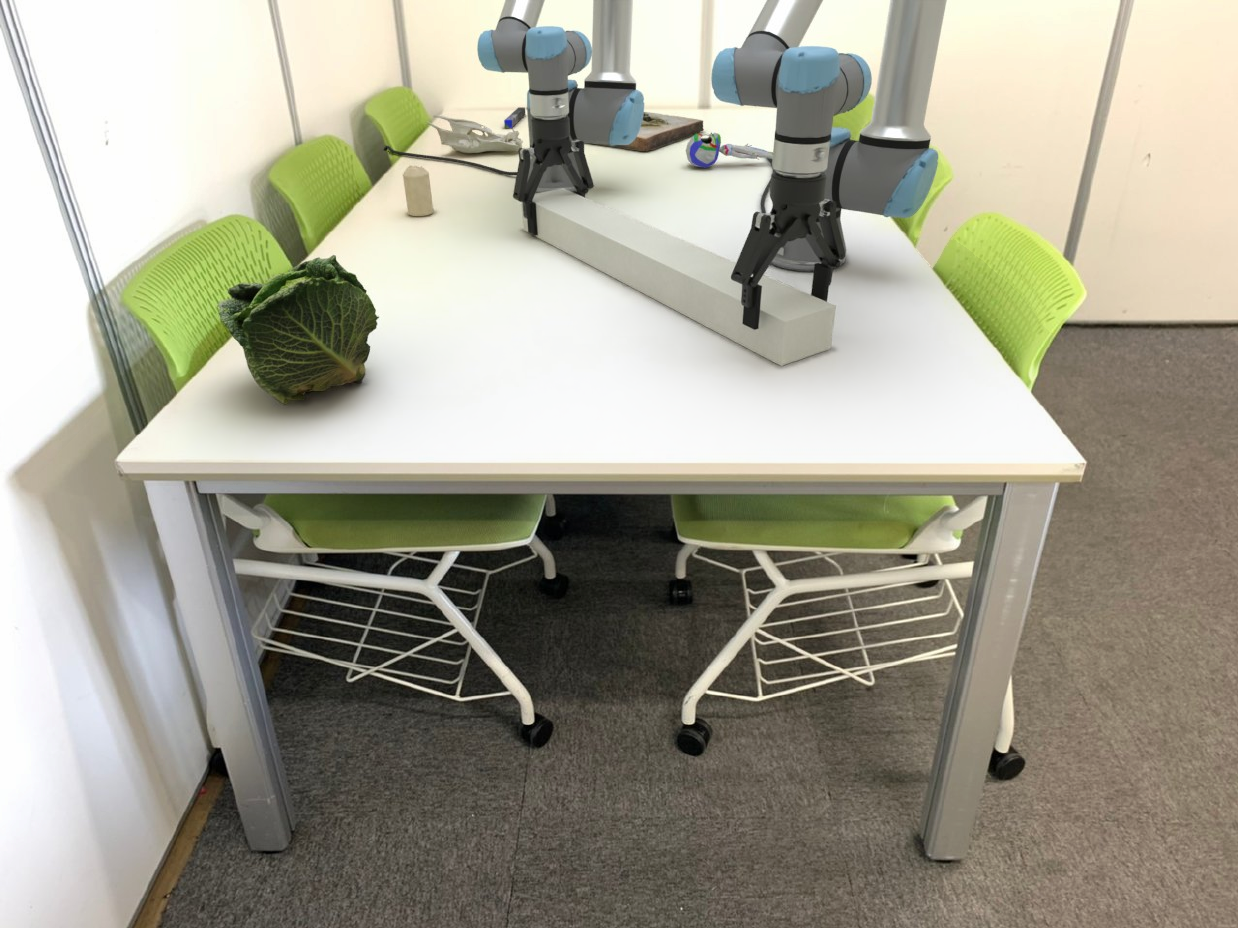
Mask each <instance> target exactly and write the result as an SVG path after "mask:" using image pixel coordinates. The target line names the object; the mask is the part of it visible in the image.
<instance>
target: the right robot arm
mask: <svg viewBox="0 0 1238 928" xmlns="http://www.w3.org/2000/svg"><path fill="white" fill-rule="evenodd" d="M823 1H824V0H766V2H765V3H764V5H763V7H762V9H761V10H760V13H759V14H758V16H757V18H756V20H755V22H754V24H753V25H752V27H751V29H750V31H749V32H748V34H747V36H746V38H745V40H744V41H743V44H742V45H741V47H739V48H738V46H734V47H727V48H724V49H723V50H721V51H719V52H718V53H717V55H716V56H715V59H714V61H713V65H712V69H711V78H710V79H711V88H712V90H713V94H714V96H715V97H716V99H717V100H719V101H720V102H723V103H726V104H731V105H732V104H733V105H736V106H740V107H744V106H748V107H757V108H758V107H759V108H771V109H776V114H775V115H776V116H775V130H774V140H773V151H772V152H773V159H770V158H766V159H768V161H769V162H770V164H771V168H772V173H771V174H770V179H769V181H768V183H767V184H766V186H765V188H764V190H763V193H762V195H761V198H760V199H761V200H760V208H761V212H760V211H755V212H754V213H753V215H752V218H751V226H750V229H749V232H748V234H747V237H746V239H745V240H744V241H745V242H744V244H743V246H742V249H741V251H740V253H739V255H738V258H737V260H736V262H735V263H736V265H735V267H734V270H733V272H732V275H731V279H732V280H733V281H735V282H738V283H740V284H742V296H741V304H742V305H743V306H744V308H743V322H742V324H744V325H746V326H748V327H750V328H752V329H754V330H756V329H758V328H759V316H760V304H761V292H762V286H761V285H759V284H758V282H759V281H760V279H761V278H762V276H763V275H765V273H766V271H767V270H768V269H769V267H770V265H772V266H775V267H778V268H781V269H785V270H790V271H798V272H813V275H812V283H811V293H810V295H812V296H814V297H817V298H819V299H821V300H824V301H826V302H828V297H829V288H830V286H831V285H832V281H833V279H832V278H833V274H834V273H833V272H834V269H837V268H839V267H840V266H842V265H844V263H845V262H846V257H847V246H846V241H845V235H844V231H843V227H842V221H841V215H842V210H846V211H853V212H860V213H867V214H872V215H878V216H882V217H884V218H889V217H891V218H901V219H907V218H910V217H913V216H914V215H915V214H916V213H918V212H919V210H920V208H921V207H922V206H923V204H924V203H925V201H926V199H927V197H928V195H929V193H930V191H931V188H932V186H933V183H934V180H935V177H936V173H937V170H938V165H939V152H938V151H937V150H936V149H934V148H933V147H930V145H931V140H932V136H931V135H932V134H930V132H929V131H928V129H927V128H926V127H925V120H926V114H927V108H928V103H929V98H930V92H931V87H932V82H933V78H934V77H933V76H934V71H935V65H936V60H937V54H938V49H939V43H940V38H941V33H942V26H943V24H944V23H943V22H944V17H945V12H946V6H947V1H948V0H889V5H888V13H887V19H886V25H885V31H884V37H883V38H884V39H883V46H882V50H881V57H880V63H879V70H878V75H877V82H876V87H875V88H876V90H875V94H874V103H873V106H872V114H871V119H870V122H869V123H868V124H867V125H866V126H865V127H863V128H862V129H861V130H860V132H859V137H858V140H855V139H851V138H852V133H851V130H850V129H848V128H844V127H839V126H837V127H835V126H833V124H834V117H835V116H838V115H841V114H845V113H846V112H848V113H849V112H850V111H852V110H854V109H855V108H856V107H857V106H859V105H860V104H862V103H863V101H865V99H866V98H867V96H868V95H869V93H870V91H871V87H872V83H873V81H872V79H873V78H872V71H871V68H870V65H869V64H868V62H867V61H866V60H865V59H864V58H863V57H862V56H860V55H858V54H857V53H849V52H848V53H844V52H839V51H838V50H837V49H836V48H833V47H829V46H818V45H817V46H816V45H815V46H814V45H803V46H800V45H801V43H802V41H803V39H804V38H805V36H806V34H807V32H808V30H809V29H810V26H811V24H812V22H813V21H814V20H815V19H814V18H815V17H816V15H817V13H818V11H819V10H820V7H821V5H822V4H823ZM768 192H769V198H770V200H771V205H772V206H771V210H770V211H769V212H768V213H767V211H766V205H765V201H766V196H767V195H768ZM752 274H753V276H752V277H751V275H752Z"/></svg>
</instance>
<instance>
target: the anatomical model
mask: <svg viewBox="0 0 1238 928" xmlns="http://www.w3.org/2000/svg"><path fill="white" fill-rule="evenodd" d="M433 118H437V119H440V120H441V119H442V120H445V121H447V122H448V123H449V125H450V128H451V130H448V129H444V128H441V127H439V126H437V125H435V124H433V123H432V122H430V121H428V120H427V124H428V125H429V126H431V127H432V128H434V129H435V130H436V131H437V134H438V136H439V139H440V143H441V146H449V147H450V148H451V149H453V150H454V151H458V152H460V153H463V154H479V153H484V152H491V151H492V152H493V151H495V152H496V151H497V152H518V150H519V148H523V143H524V141H523V140H522V138H520V137H519V135H520V132H519V131H518V130H515V129H514V128H513V127H512V128H511V130H512V131H508V133H507V134H503V133H495V132H493V130H492V129H490V128H489V127H488V126H486V125H483V124H482V123H478V122H477V121H473V120H468V119H464V118H452V117H448V116H444V115H440V114H433ZM474 131H478V132H481V133H482V135H480V134H478V133H476V132H474ZM486 134H487V135H486Z"/></svg>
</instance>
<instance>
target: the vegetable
mask: <svg viewBox="0 0 1238 928" xmlns="http://www.w3.org/2000/svg"><path fill="white" fill-rule="evenodd" d="M227 294H228V295H230V296H231V298H228V299H223V300H220V301H219V302H218V303H217V306H216V307H217V308H219V311H218V312H217V314H218V316H219V318H220V321H221V323H223V324H224V326H225V328H226V329H227V330H228V332H229V334H230V335H231V336H232V338H233V339H234V340H235V341H237V343H238V344H239V346H240V347H242V349H243V354H244V358H245V360H246V365H247V368H248V371H249V372H250V374H251V376H252V378H253V380H254V382H255V383H256V384H257V385H258V386H259V387H260V388H261V389H262V390H264V391H265V392H267V394H270V395H271V396H272V397H274V398H275V399H276V400H277V401H279V402H280V403H282V404H283V405H288V404H290V402H291V401H296V400H298V401H299V400H303V401H304V400H306V397H305V396H304V395H305V394H306V393H309V392H313V391H314V392H315V391H316V392H325V391H326V390H327V389H328V390H329V389H330V388H331V387H337V386H338V387H339V386H342V385H346V384H349V383H350V385H353V384H362V383H363V380H364V378H365V376H366V366H365V363H366V362H367V361H368V358H369V355H370V353H371V345H370V344H368V340H369V336H370V334H371V333H372V332H373V331H375V330H376V329H377V326H378V321H377V320H378V319H380V316H378V315H377V314H376V312H377V309H376V308H375V305H374V303H373V300H372V299H371V298H370V295H369V294H367V290H366V289H365V287H364V285H363V284H362V283H361V282H360V281H359V280H358V277H357V275H356V274H355V273H352V272H349V271H347V270H346V269H345V268H344V267H343V266H342V265H341V264H340V263H339V262H338V260H337V254H336V255H335V254H332V255H331V256H329V257H327V258H320V256H318V257H315V258H313V259H311V260H306V261H304V262H302V263H299V264H297V265H296V266H293V267H292V268H290V269H289V270H288V271H287V272H283V273H282V272H281V273H277V274H274V275H272V276H270V277H269V278H268V279H267V280H266V281H265V283H257V282H251V283H249V282H240V283H237V284H236V285H234V286H232V287H229V288H228V290H227Z"/></svg>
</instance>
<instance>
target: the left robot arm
mask: <svg viewBox="0 0 1238 928" xmlns="http://www.w3.org/2000/svg"><path fill="white" fill-rule="evenodd" d="M545 2H546V0H505V1H504V3H503V7H502V9H501V12H500V16H499V18H498V22H497V24H496V26H495V29H490V30H489V29H488V30H484V31H483V32H482V33H480V35H479V37H478V40H477V47H476V48H477V49H476V50H477V57H478V61H479V63H480V65H481V66H482V67H483V69H485V70H486V71H490V72H498V73H502V74H503V73H522V74H523V73H525V74H527V75H528V76H527V78H528V90H527V93H526V107H525V110H526V113H527V114H526V115H527V127H528V140H529V141H528V142H529V147H526V148H523V147H522V148H519V150H518V151H517V152H518V166H517V171H505V170H502V169H498V168H495V167H492V166H487V165H485V164H480V163H476V162H472V161H468V160H462V159H457V158H456V159H455V158H451V157H443V156H436V155H429V154H420V153H419V154H418V153H414V152H413V153H412V152H406V151H405V152H404V151H399V150H395V149H394V148H392V147H391V146H390V145H385V146H384V148H383V151H384V152H386V151H389V152H391V153H392V154H394V155H399V156H407V157H412V158H420V159H429V160H436V161H444V162H450V163H457V164H463V165H467V166H473V167H476V168H479V169H484V170H487V171H491V172H494V173H497V174H501V175H506V176H516V177H515V182H514V186H513V187H514V188H513V194H512V199H514V200H516V201H518V202H520V203H521V202H522V203H523V215H524V218H526V219H527V222H528V232H529V233H528V232H527V233H528V234H530V235H531V236H533V237H536V236H535V235H538V230H537V214H536V203H535V202H533V201H532V200H533V198H534V195H535V194H536V193H541V192H547V191H552V190H557V189H562V188H564V189H566V190H568V191H571V192H573V193H575V194H578V195H580V196H582V197H585V198H586V195H587V194H588V193H589V189H592V188H594V187H595V186H594V185H595V184H594V181H593V178H592V175H591V174H592V173H591V171H590V167H589V163H588V162H587V157H586V154H585V144H592V143H593V145H598V144H607V145H611V146H613V145H628V144H630V143H632V142H633V141H634V140H635V138H636V137H637V135H638V133H639V130H640V127H641V124H642V120H643V114H644V112H645V102H644V101H645V96H644V94H643V92H642V91H640V90H639V89H637V81H636V79H635V78H634V77H633V75H632V74H631V59H632V58H631V57H632V56H631V54H632V31H633V30H632V29H633V9H634V7H633V6H634V0H592V33H591V34H592V37H591V38H592V39H591V42H592V43H591V42H590V39H589V38H588V36H587V35H585V33H582V32H581V31H579V30H565V29H564V28H563V27H561V26H553V25H550V26H549V25H547V26H546V25H545V26H543V25H542V26H538V23H539V19H540V17H541V15H542V10H543V7H544V5H545ZM590 62H591V71H590V73H589V74H588V75H587V76H586V77H585V78H584V82H583V83H584V86H583V87H579V84H578V82H577V81H576V80H575V79H569V76H572V75H574V74H578V73H580V72H581V71H582V70H584V69H585V68H586V67H587V66H588V65H589V64H590ZM611 146H610V147H611ZM522 203H521V204H522Z"/></svg>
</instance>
